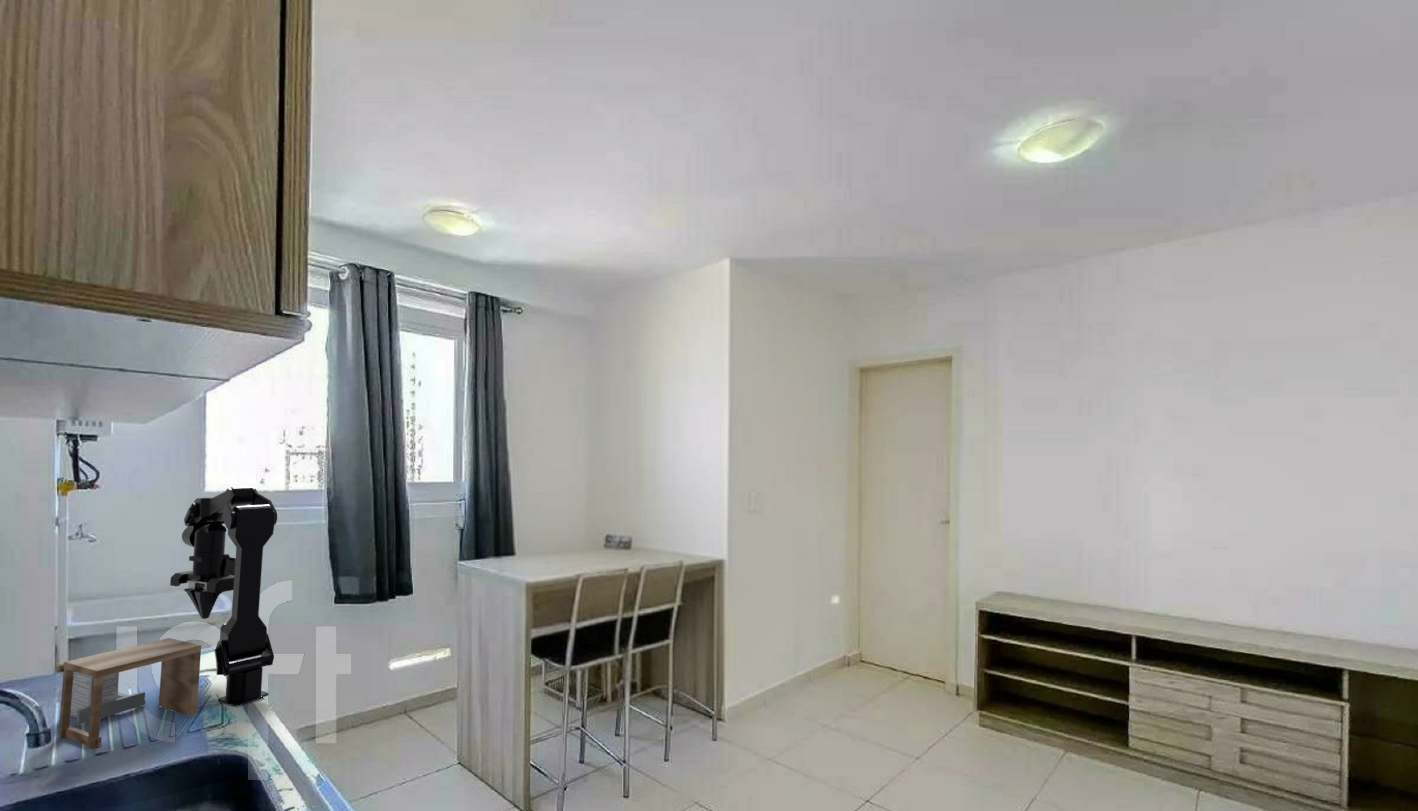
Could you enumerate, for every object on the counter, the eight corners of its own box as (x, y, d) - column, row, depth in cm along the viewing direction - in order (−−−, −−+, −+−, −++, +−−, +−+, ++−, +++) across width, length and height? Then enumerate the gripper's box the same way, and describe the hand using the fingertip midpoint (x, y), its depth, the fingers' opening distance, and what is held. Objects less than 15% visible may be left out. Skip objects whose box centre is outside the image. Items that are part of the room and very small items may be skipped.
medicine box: (117, 714, 123) (120, 668, 124) (87, 723, 119) (91, 676, 119) (96, 707, 126) (99, 662, 127) (66, 715, 122) (70, 669, 123)
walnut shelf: (196, 714, 123) (201, 645, 124) (90, 749, 109) (96, 671, 109) (164, 704, 128) (169, 638, 128) (58, 737, 113) (64, 661, 114)
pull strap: (150, 703, 127) (152, 673, 127) (78, 725, 117) (81, 692, 117) (90, 685, 136) (92, 657, 137) (19, 704, 126) (21, 673, 126)
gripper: (270, 549, 152) (266, 614, 151) (223, 543, 160) (219, 606, 159) (218, 555, 142) (214, 626, 141) (171, 549, 150) (166, 617, 148)
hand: (205, 618), depth 148 cm, fingers closed
